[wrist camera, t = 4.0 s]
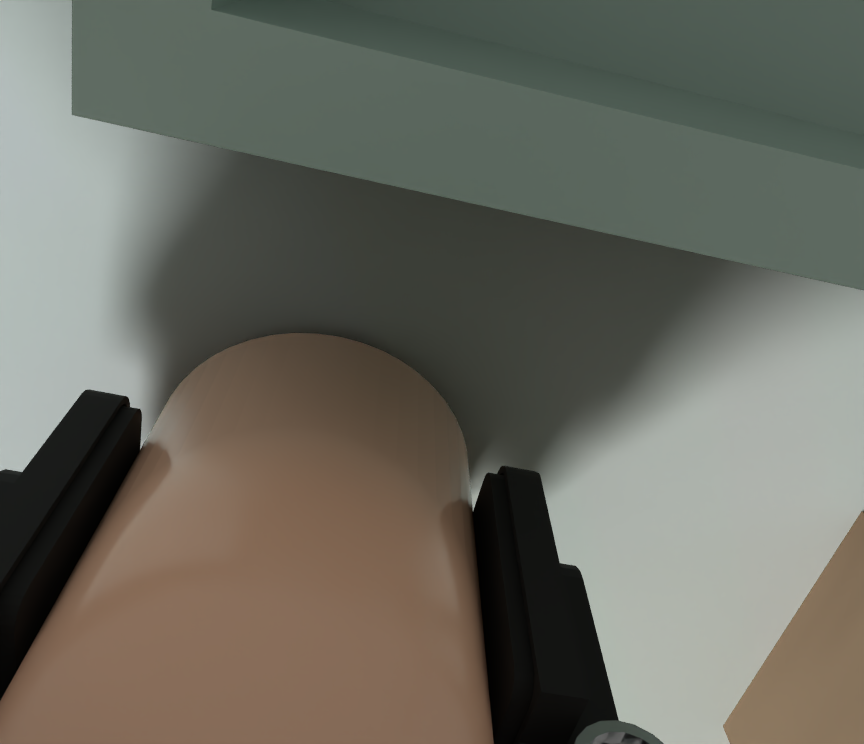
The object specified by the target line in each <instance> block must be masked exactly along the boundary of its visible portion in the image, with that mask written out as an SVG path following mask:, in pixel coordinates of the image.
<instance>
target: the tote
mask: <svg viewBox="0 0 864 744" xmlns="http://www.w3.org/2000/svg"><path fill="white" fill-rule="evenodd" d="M72 115H75V116H80V117H84V118H89V119H93V120H98V121H102V122H107V123H111V124H116V125H120V126H125V127H129V128H134V129H138V130H143V131H147V132H152V133H156V134H161V135H165V136H170V137H174V138H179V139H183V140H188V141H192V142H197V143H202V144H206V145H211V146H215V147H220V148H224V149H229V150H233V151H238V152H242V153H247V154H251V155H256V156H260V157H265V158H269V159H274V160H278V161H283V162H287V163H292V164H296V165H301V166H305V167H310V168H314V169H319V170H323V171H328V172H332V173H337V174H341V175H346V176H350V177H355V178H359V179H364V180H368V181H373V182H377V183H382V184H386V185H391V186H395V187H400V188H404V189H409V190H414V191H418V192H423V193H427V194H432V195H436V196H441V197H445V198H450V199H454V200H459V201H463V202H468V203H472V204H477V205H481V206H486V207H490V208H495V209H499V210H504V211H508V212H513V213H517V214H522V215H526V216H531V217H535V218H540V219H544V220H549V221H553V222H558V223H562V224H567V225H571V226H576V227H580V228H585V229H589V230H594V231H598V232H603V233H607V234H612V235H617V236H621V237H626V238H630V239H635V240H639V241H644V242H648V243H653V244H657V245H662V246H666V247H671V248H675V249H680V250H684V251H689V252H693V253H698V254H702V255H707V256H711V257H716V258H720V259H725V260H729V261H734V262H738V263H743V264H747V265H752V266H756V267H761V268H765V269H770V270H774V271H779V272H783V273H788V274H792V275H797V276H801V277H806V278H810V279H815V280H820V281H824V282H829V283H833V284H838V285H842V286H847V287H851V288H856V289H860V290H864V0H72Z"/></svg>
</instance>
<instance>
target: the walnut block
mask: <svg viewBox="0 0 864 744" xmlns="http://www.w3.org/2000/svg"><path fill="white" fill-rule="evenodd" d="M723 727H724V730H725V732H726V735H727V737H728V740H729V742H730V744H864V512H861V513H860V515H859V516H858V518H857V519H856V521H855V523H854V524H853V526H852V527H851V529H850V530H849V532H848V533H847V535H846V536H845V538H844V540H843V541H842V543H841V544H840V546H839V547H838V549H837V550H836V552H835V554H834V555H833V557H832V558H831V560H830V561H829V563H828V564H827V566H826V567H825V569H824V571H823V572H822V574H821V575H820V577H819V578H818V580H817V581H816V583H815V584H814V586H813V588H812V589H811V591H810V592H809V594H808V595H807V597H806V598H805V600H804V602H803V603H802V605H801V606H800V608H799V609H798V611H797V612H796V614H795V615H794V617H793V619H792V620H791V622H790V623H789V625H788V626H787V628H786V629H785V631H784V632H783V634H782V636H781V637H780V639H779V640H778V642H777V643H776V645H775V646H774V648H773V650H772V651H771V653H770V654H769V656H768V657H767V659H766V660H765V662H764V663H763V665H762V667H761V668H760V670H759V671H758V673H757V674H756V676H755V677H754V679H753V680H752V682H751V684H750V685H749V687H748V688H747V690H746V691H745V693H744V694H743V696H742V697H741V699H740V701H739V702H738V704H737V705H736V707H735V708H734V710H733V711H732V713H731V715H730V716H729V718H728V719H727V721H726V722H725V724H724V725H723Z"/></svg>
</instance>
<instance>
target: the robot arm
mask: <svg viewBox="0 0 864 744" xmlns="http://www.w3.org/2000/svg"><path fill="white" fill-rule="evenodd" d="M141 422H142V413H141V410H140V409H136V408H131V407H130V402H129V398H128V397H127V396H121V395H116V394H110V393H105V392H99V391H94V390H85V391H84V392H83V393H82V394H81V395H80V397H79V398H78V399H77V401H76V402H75V403H74V405H73V406H72V407H71V409H70V410H69V411H68V413H67V414H66V415H65V417H64V418H63V419H62V421H61V422H60V423H59V424H58V426H57V427H56V428H55V430H54V431H53V432H52V434H51V435H50V436H49V438H48V439H47V440H46V442H45V443H44V444H43V446H42V447H41V448H40V450H39V451H38V452H37V454H36V455H35V456H34V457H33V459H32V460H31V461H30V463H29V464H28V465H27V467H26V468H25V469H24V471H23V472H18V471H12V470H6V469H5V470H2V471H0V701H1V699H2V697H3V695H4V693H5V692H6V690H7V688H8V686H9V684H10V683H11V681H12V679H13V677H14V675H15V674H16V672H17V670H18V668H19V666H20V665H21V663H22V661H23V659H24V658H25V656H26V654H27V652H28V650H29V649H30V647H31V645H32V643H33V641H34V640H35V638H36V636H37V634H38V632H39V631H40V629H41V627H42V625H43V623H44V622H45V620H46V618H47V616H48V615H49V613H50V611H51V609H52V607H53V606H54V604H55V602H56V600H57V598H58V597H59V595H60V593H61V591H62V589H63V588H64V586H65V584H66V582H67V580H68V579H69V577H70V575H71V573H72V572H73V570H74V568H75V566H76V564H77V563H78V561H79V559H80V557H81V555H82V554H83V552H84V550H85V548H86V546H87V545H88V543H89V541H90V539H91V537H92V536H93V534H94V532H95V530H96V529H97V527H98V525H99V523H100V521H101V520H102V518H103V516H104V514H105V512H106V511H107V509H108V507H109V505H110V503H111V502H112V500H113V498H114V496H115V494H116V493H117V491H118V489H119V487H120V486H121V484H122V482H123V480H124V478H125V477H126V475H127V473H128V471H129V469H130V468H131V466H132V464H133V462H134V460H135V459H136V457H137V455H138V453H139V451H140V441H141ZM473 520H474V531H475V542H476V553H477V564H478V575H479V586H480V597H481V608H482V619H483V630H484V642H485V653H486V664H487V675H488V686H489V697H490V708H491V719H492V730H493V741H494V744H664V743H662V742H661V741H660V740H659V739H658V738H656V737H655V736H654V735H653V734H651V733H649V732H647V731H645V730H643V729H642V728H640V727H638V726H636V725H633V724H629V723H625V722H621V721H619V720H618V716H617V712H616V708H615V704H614V700H613V696H612V692H611V688H610V684H609V680H608V676H607V672H606V668H605V664H604V661H603V657H602V653H601V649H600V645H599V641H598V637H597V633H596V629H595V625H594V621H593V617H592V613H591V609H590V605H589V601H588V597H587V593H586V589H585V585H584V581H583V578H582V575H581V572H580V570H579V569H578V568H577V567H576V566H573V565H567V564H561V563H559V559H558V554H557V549H556V545H555V540H554V536H553V531H552V527H551V522H550V518H549V513H548V509H547V504H546V500H545V495H544V491H543V486H542V482H541V477H540V475H539V473H538V472H535V471H529V470H524V469H518V468H513V467H508V466H502V467H501V468H500V470H499V471H498V474H493V473H487V474H486V476H485V478H484V481H483V484H482V487H481V490H480V493H479V496H478V499H477V502H476V505H475V508H474V511H473Z"/></svg>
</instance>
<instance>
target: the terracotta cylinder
mask: <svg viewBox="0 0 864 744" xmlns="http://www.w3.org/2000/svg"><path fill="white" fill-rule="evenodd" d="M0 744H494V741H493V730H492V719H491V708H490V697H489V686H488V675H487V664H486V653H485V642H484V630H483V619H482V608H481V597H480V586H479V575H478V564H477V553H476V542H475V531H474V520H473V509H472V498H471V487H470V476H469V465H468V454H467V448H466V444H465V440H464V436H463V433H462V431H461V428H460V426H459V424H458V421H457V419H456V417H455V415H454V414H453V412H452V411H451V409H450V407H449V406H448V404H447V402H446V401H445V400H444V399H443V397H442V396H441V395H440V394H439V393H438V391H437V390H436V389H435V388H434V387H433V386H432V385H431V384H430V383H429V382H428V381H427V380H426V379H425V378H424V377H422V376H421V375H420V374H419V373H418V372H417V371H415V370H414V369H412V368H411V367H409V366H408V365H407V364H405V363H404V362H402V361H401V360H399V359H397V358H395V357H393V356H391V355H390V354H388V353H386V352H384V351H382V350H380V349H377V348H374V347H372V346H369V345H367V344H364V343H362V342H358V341H354V340H350V339H346V338H343V337H338V336H331V335H324V334H317V333H288V334H277V335H270V336H265V337H260V338H256V339H251V340H248V341H245V342H242V343H240V344H237V345H234V346H231V347H229V348H227V349H225V350H223V351H221V352H219V353H217V354H215V355H213V356H212V357H210V358H209V359H207V360H206V361H204V362H203V363H202V364H200V365H199V366H197V367H196V368H195V369H194V370H193V371H192V372H191V373H190V374H189V375H188V376H186V377H185V378H184V379H183V380H182V381H181V383H180V384H179V385H178V387H177V388H176V389H175V391H174V392H173V393H172V395H171V396H170V398H169V399H168V401H167V403H166V405H165V407H164V408H163V410H162V412H161V414H160V416H159V417H158V419H157V421H156V423H155V425H154V426H153V428H152V430H151V432H150V434H149V435H148V437H147V439H146V441H145V442H144V444H143V446H142V448H141V450H140V451H139V453H138V455H137V457H136V459H135V460H134V462H133V464H132V466H131V468H130V469H129V471H128V473H127V475H126V477H125V478H124V480H123V482H122V484H121V486H120V487H119V489H118V491H117V493H116V494H115V496H114V498H113V500H112V502H111V503H110V505H109V507H108V509H107V511H106V512H105V514H104V516H103V518H102V520H101V521H100V523H99V525H98V527H97V529H96V530H95V532H94V534H93V536H92V537H91V539H90V541H89V543H88V545H87V546H86V548H85V550H84V552H83V554H82V555H81V557H80V559H79V561H78V563H77V564H76V566H75V568H74V570H73V572H72V573H71V575H70V577H69V579H68V580H67V582H66V584H65V586H64V588H63V589H62V591H61V593H60V595H59V597H58V598H57V600H56V602H55V604H54V606H53V607H52V609H51V611H50V613H49V615H48V616H47V618H46V620H45V622H44V623H43V625H42V627H41V629H40V631H39V632H38V634H37V636H36V638H35V640H34V641H33V643H32V645H31V647H30V649H29V650H28V652H27V654H26V656H25V658H24V659H23V661H22V663H21V665H20V666H19V668H18V670H17V672H16V674H15V675H14V677H13V679H12V681H11V683H10V684H9V686H8V688H7V690H6V692H5V693H4V695H3V697H2V699H1V701H0Z"/></svg>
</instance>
